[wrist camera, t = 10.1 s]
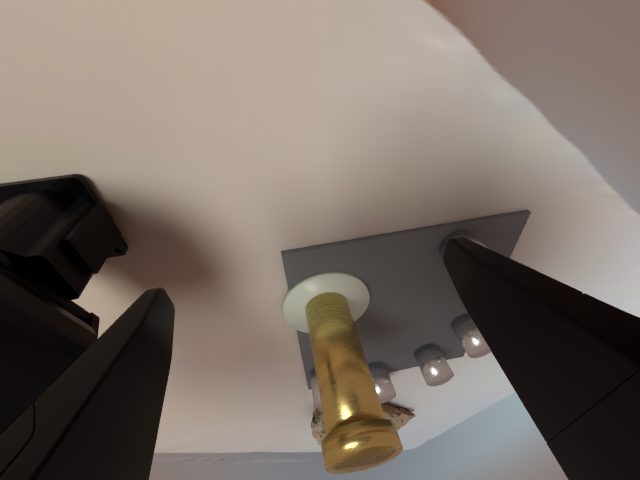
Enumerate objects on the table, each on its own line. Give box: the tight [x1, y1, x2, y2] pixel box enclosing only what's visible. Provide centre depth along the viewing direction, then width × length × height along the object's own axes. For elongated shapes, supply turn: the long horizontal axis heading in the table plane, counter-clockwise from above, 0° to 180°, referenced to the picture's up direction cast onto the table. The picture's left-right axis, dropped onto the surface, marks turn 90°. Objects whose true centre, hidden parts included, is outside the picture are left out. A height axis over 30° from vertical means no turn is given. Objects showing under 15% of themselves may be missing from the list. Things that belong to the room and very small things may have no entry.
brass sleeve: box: [305, 292, 403, 474], centre depth 25 cm, size 5×5×13 cm
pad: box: [282, 271, 370, 333], centre depth 30 cm, size 9×9×1 cm
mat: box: [281, 210, 531, 390], centre depth 35 cm, size 24×26×1 cm
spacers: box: [309, 229, 492, 409], centre depth 35 cm, size 16×28×4 cm, turn 147°
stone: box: [311, 403, 415, 446], centre depth 49 cm, size 21×6×10 cm
